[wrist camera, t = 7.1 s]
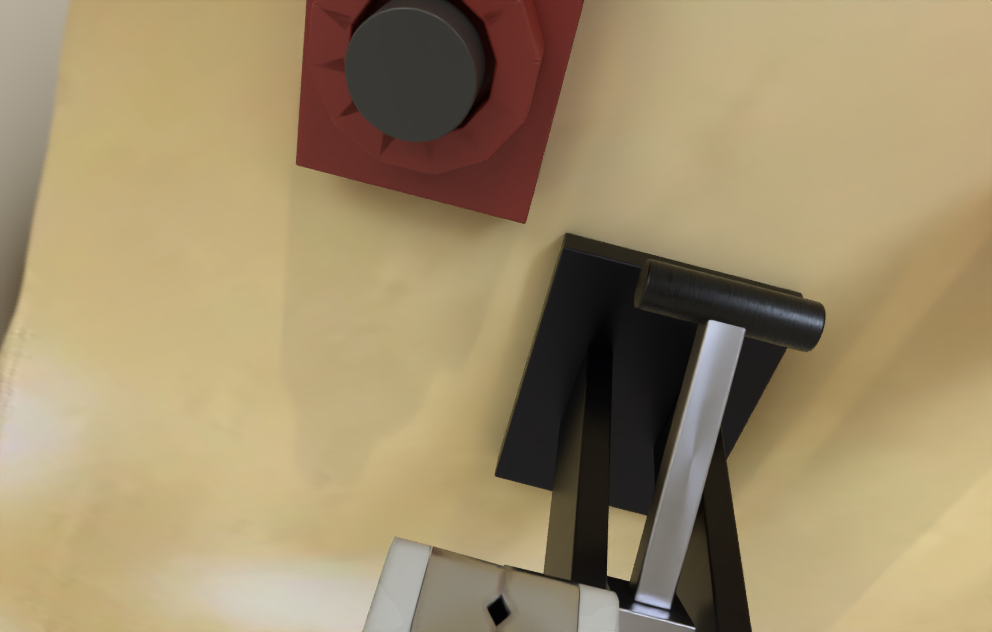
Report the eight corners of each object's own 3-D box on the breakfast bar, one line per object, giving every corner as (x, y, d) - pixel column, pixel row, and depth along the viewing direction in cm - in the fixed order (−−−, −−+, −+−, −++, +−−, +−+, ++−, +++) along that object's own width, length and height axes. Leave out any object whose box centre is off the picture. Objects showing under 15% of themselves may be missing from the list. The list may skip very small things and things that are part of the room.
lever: (639, 259, 23) (656, 256, 20) (804, 302, 23) (839, 303, 20) (536, 652, 23) (540, 694, 21) (698, 694, 23) (721, 740, 21)
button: (369, -22, 21) (350, -9, 20) (498, 11, 21) (488, 26, 20) (356, 104, 23) (338, 124, 22) (472, 134, 23) (462, 157, 22)
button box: (342, -182, 22) (292, -178, 19) (613, -112, 22) (609, -97, 19) (317, 142, 28) (275, 187, 24) (532, 197, 28) (519, 250, 24)
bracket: (565, 231, 28) (522, 518, 17) (802, 292, 28) (918, 620, 17) (497, 458, 35) (435, 771, 24) (689, 507, 35) (717, 844, 24)
